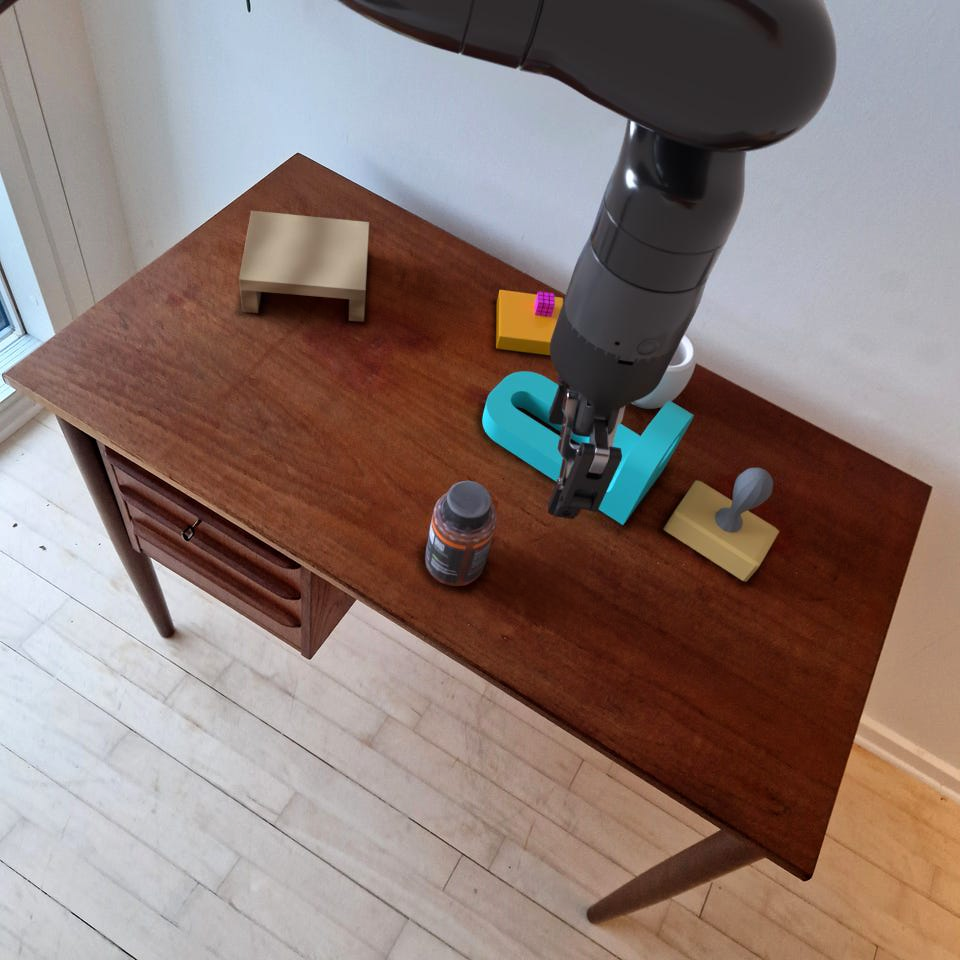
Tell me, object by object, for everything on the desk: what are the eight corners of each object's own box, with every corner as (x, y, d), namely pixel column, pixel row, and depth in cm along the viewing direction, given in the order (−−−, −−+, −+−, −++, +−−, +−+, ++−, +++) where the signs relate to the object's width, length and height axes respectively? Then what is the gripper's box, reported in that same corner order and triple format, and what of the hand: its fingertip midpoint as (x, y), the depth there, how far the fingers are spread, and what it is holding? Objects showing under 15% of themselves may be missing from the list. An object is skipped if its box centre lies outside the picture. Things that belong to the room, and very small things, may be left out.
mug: (635, 354, 104) (656, 307, 97) (690, 394, 101) (715, 349, 95) (575, 401, 98) (593, 355, 91) (632, 446, 95) (654, 401, 89)
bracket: (663, 470, 94) (701, 402, 84) (623, 525, 89) (659, 459, 79) (516, 378, 98) (537, 304, 89) (469, 425, 93) (487, 351, 84)
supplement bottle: (490, 546, 85) (511, 483, 75) (474, 596, 81) (494, 536, 72) (434, 528, 85) (447, 462, 76) (415, 577, 81) (427, 515, 72)
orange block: (561, 357, 101) (569, 332, 98) (495, 349, 100) (502, 323, 97) (559, 310, 106) (567, 285, 103) (496, 302, 105) (502, 276, 102)
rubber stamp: (766, 547, 90) (819, 483, 80) (744, 584, 87) (797, 523, 77) (685, 496, 92) (728, 428, 82) (661, 531, 89) (703, 465, 79)
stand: (242, 312, 98) (238, 279, 94) (253, 243, 104) (251, 210, 100) (363, 321, 100) (365, 290, 96) (367, 254, 106) (369, 222, 102)
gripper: (565, 223, 54) (515, 387, 67) (566, 388, 46) (509, 539, 59) (677, 242, 55) (606, 401, 68) (697, 408, 47) (612, 553, 60)
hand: (561, 465), depth 64 cm, fingers open, 8 cm apart
